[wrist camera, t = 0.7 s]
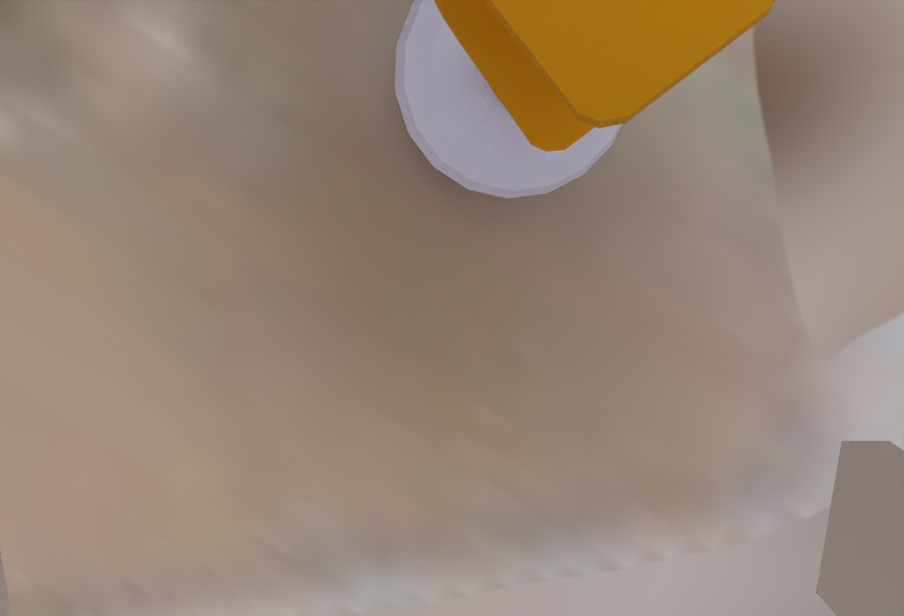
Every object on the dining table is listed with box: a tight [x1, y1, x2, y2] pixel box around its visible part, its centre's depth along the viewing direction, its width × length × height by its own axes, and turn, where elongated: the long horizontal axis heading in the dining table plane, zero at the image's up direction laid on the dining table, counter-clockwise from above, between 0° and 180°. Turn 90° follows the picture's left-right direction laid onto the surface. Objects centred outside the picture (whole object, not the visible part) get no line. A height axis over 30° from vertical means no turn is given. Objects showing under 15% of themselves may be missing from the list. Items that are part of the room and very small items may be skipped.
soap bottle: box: [395, 0, 775, 199], centre depth 23 cm, size 9×9×25 cm
